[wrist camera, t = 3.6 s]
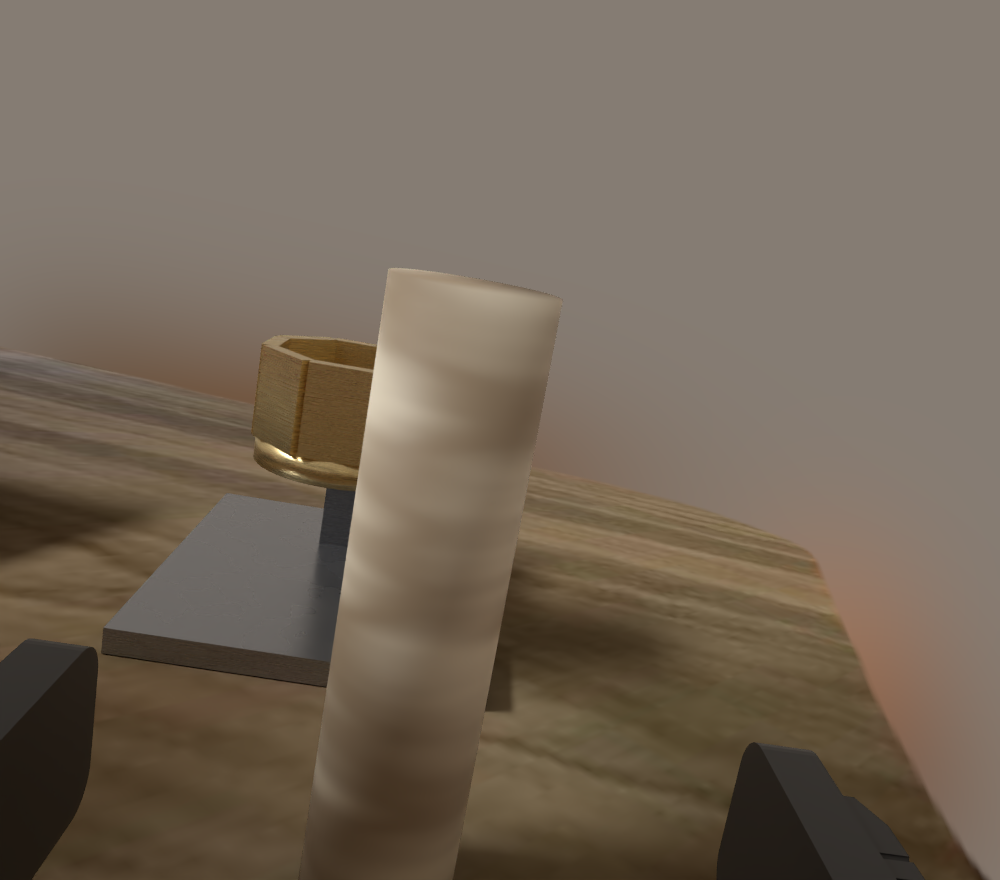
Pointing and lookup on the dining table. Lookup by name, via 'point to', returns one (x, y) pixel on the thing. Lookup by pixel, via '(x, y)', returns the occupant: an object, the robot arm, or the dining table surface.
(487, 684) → the cylindrical post
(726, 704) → the dining table surface
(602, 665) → the dining table surface
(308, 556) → the cup bracket
